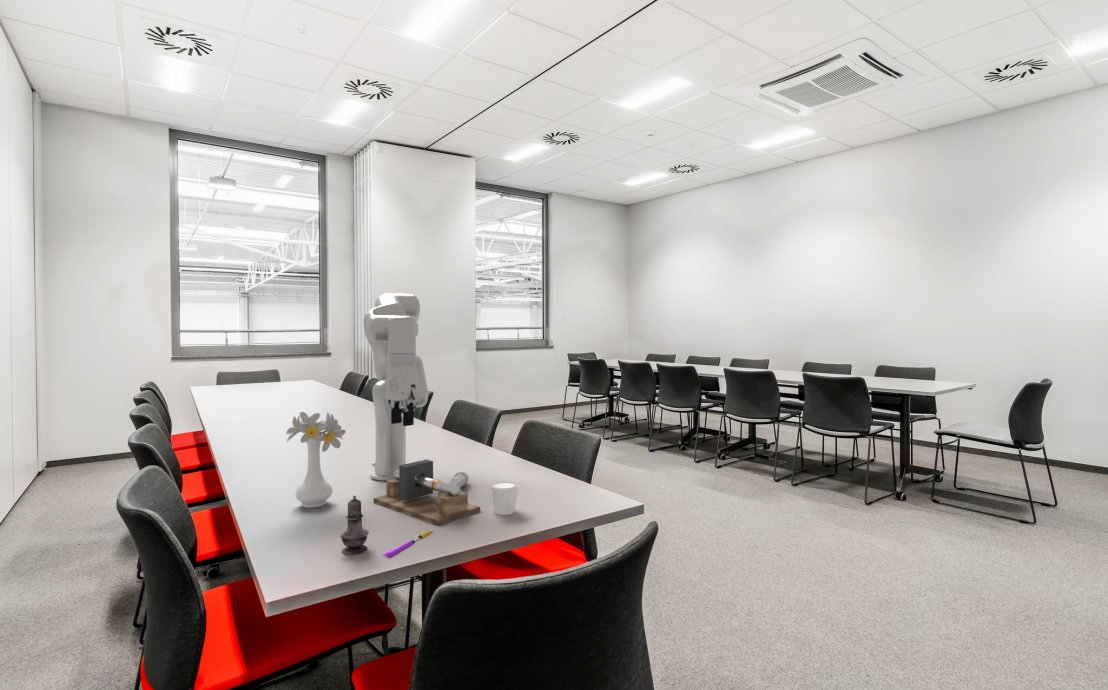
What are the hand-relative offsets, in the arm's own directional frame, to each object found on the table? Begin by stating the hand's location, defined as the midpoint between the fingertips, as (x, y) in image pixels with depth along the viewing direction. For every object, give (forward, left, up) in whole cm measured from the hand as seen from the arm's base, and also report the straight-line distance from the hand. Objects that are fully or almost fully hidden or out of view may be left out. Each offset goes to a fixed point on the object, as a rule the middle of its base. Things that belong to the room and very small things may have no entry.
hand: (402, 423), depth 154 cm
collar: (+7, 0, -19) cm, 20 cm away
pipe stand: (+11, 0, -21) cm, 24 cm away
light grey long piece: (+9, +11, -22) cm, 26 cm away
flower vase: (-13, -18, -22) cm, 31 cm away
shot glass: (+30, +11, -22) cm, 38 cm away
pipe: (+10, 0, -16) cm, 19 cm away
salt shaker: (+23, -28, -22) cm, 42 cm away
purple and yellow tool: (+28, -18, -22) cm, 40 cm away
